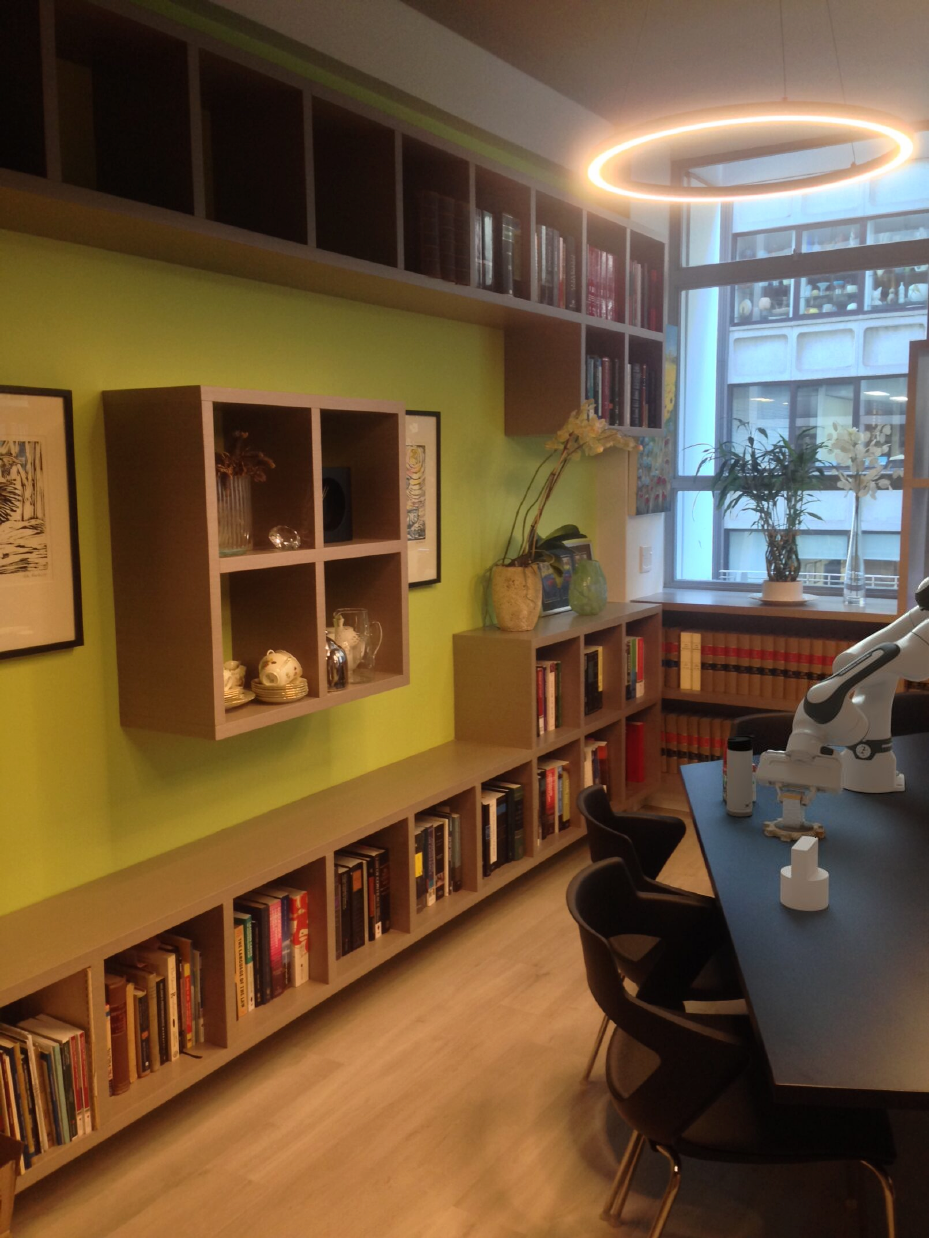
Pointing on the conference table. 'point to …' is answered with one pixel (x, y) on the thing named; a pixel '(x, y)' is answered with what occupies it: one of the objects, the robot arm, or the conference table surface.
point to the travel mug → (739, 775)
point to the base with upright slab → (804, 878)
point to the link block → (793, 809)
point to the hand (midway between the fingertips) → (792, 803)
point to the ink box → (726, 776)
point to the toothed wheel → (793, 830)
